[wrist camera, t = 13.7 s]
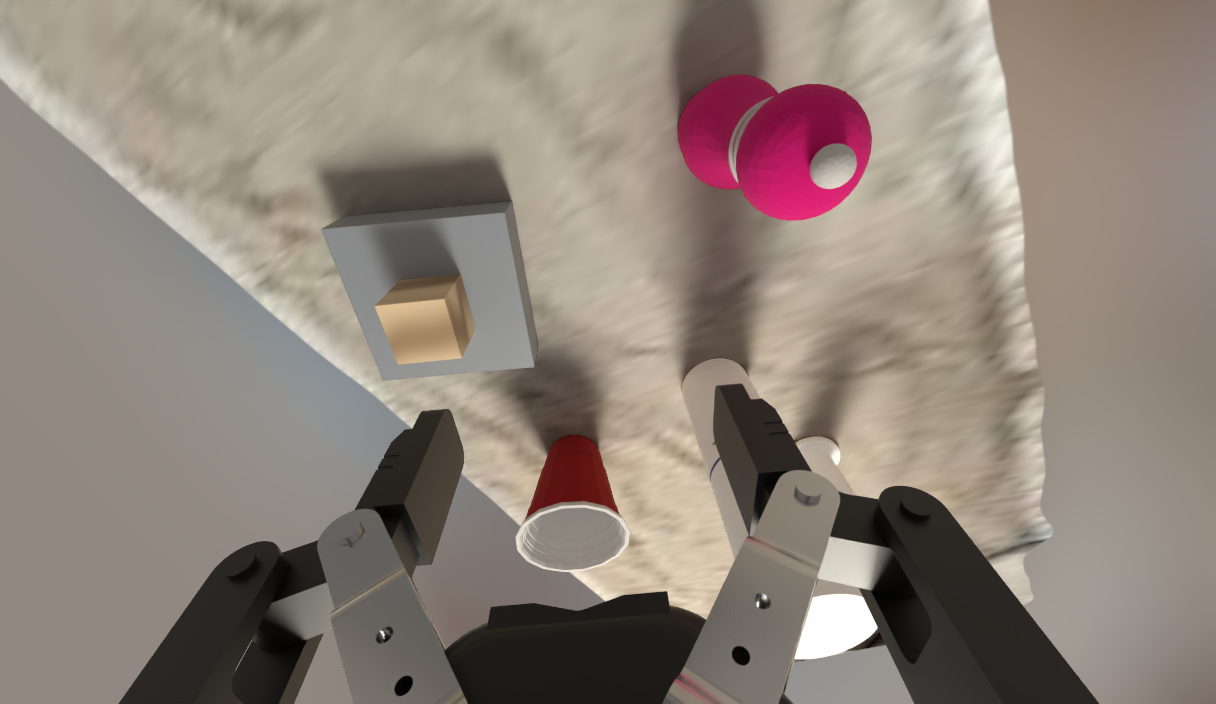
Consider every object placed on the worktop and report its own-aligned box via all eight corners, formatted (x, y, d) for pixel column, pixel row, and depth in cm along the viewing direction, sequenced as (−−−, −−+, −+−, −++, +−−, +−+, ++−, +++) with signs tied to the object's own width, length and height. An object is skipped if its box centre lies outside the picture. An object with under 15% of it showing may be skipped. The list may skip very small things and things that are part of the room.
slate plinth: (345, 216, 37) (320, 229, 34) (512, 201, 37) (504, 212, 34) (398, 358, 44) (383, 380, 41) (538, 345, 44) (534, 367, 41)
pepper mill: (660, 168, 36) (729, 240, 19) (685, 65, 33) (796, 41, 16) (743, 185, 37) (879, 268, 20) (776, 87, 34) (974, 87, 17)
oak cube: (399, 279, 36) (374, 305, 32) (460, 273, 36) (443, 298, 32) (418, 333, 39) (397, 364, 34) (475, 328, 39) (461, 358, 34)
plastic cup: (563, 498, 56) (558, 591, 46) (509, 444, 51) (490, 535, 41) (638, 463, 53) (651, 553, 43) (589, 402, 48) (590, 488, 38)
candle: (821, 481, 56) (967, 724, 35) (770, 474, 55) (887, 720, 34) (848, 440, 53) (1028, 681, 31) (794, 432, 52) (942, 675, 30)
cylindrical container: (671, 403, 49) (739, 651, 27) (699, 350, 46) (801, 584, 24) (728, 418, 50) (835, 665, 29) (759, 368, 47) (907, 604, 26)
